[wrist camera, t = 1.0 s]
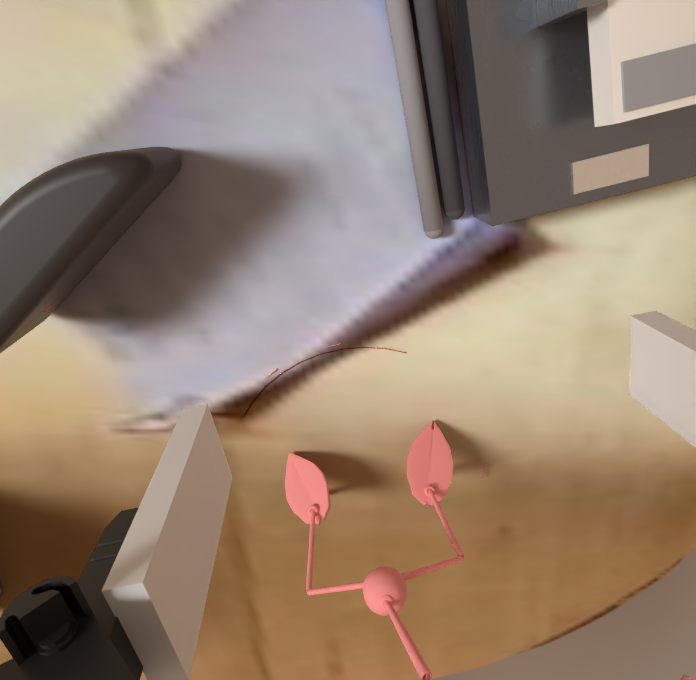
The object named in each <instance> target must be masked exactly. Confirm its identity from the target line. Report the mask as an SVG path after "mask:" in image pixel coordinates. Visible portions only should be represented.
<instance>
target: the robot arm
mask: <svg viewBox="0 0 696 680" xmlns="http://www.w3.org/2000/svg"><path fill="white" fill-rule="evenodd" d="M629 395H630V396H631V397H633V398H634V399H635V400H636V401H638V402H639V403H640V404H641V405H643V406H644V407H645V408H646V409H648V410H649V411H650V412H651V413H653V414H654V415H655V416H656V417H658V418H659V419H660V420H661V421H663V422H664V423H665V424H666V425H668V426H669V427H670V428H671V429H673V430H674V431H675V432H676V433H678V434H679V435H680V436H681V437H683V438H684V439H685V440H686V441H688V442H689V443H690V444H691V445H693V446H694V447H695V448H696V331H695V330H693V329H691V328H689V327H687V326H685V325H683V324H681V323H679V322H677V321H675V320H673V319H671V318H669V317H667V316H665V315H663V314H661V313H659V312H657V311H653V312H648V313H643V314H638V315H633V316H631V334H630V372H629ZM231 482H232V474H231V471H230V468H229V465H228V462H227V460H226V457H225V454H224V451H223V448H222V445H221V442H220V439H219V436H218V433H217V430H216V427H215V424H214V422H213V419H212V416H211V413H210V410H209V407H208V404H206V405H201V406H196V407H191V408H186V409H183V410H182V412H181V414H180V417H179V419H178V421H177V423H176V426H175V428H174V430H173V432H172V434H171V437H170V439H169V441H168V443H167V446H166V448H165V450H164V452H163V455H162V457H161V459H160V461H159V463H158V466H157V468H156V470H155V472H154V475H153V477H152V479H151V481H150V484H149V486H148V488H147V490H146V493H145V495H144V497H143V499H142V501H141V504H140V506H139V508H134V509H129V510H124V511H121V512H120V513H119V514H118V515H117V516H116V517H115V518H114V519H113V520H112V521H111V522H110V523H109V524H108V526H107V527H106V528H105V530H104V532H103V533H102V535H101V537H100V539H99V541H98V543H97V548H95V549H94V551H93V553H92V555H91V557H90V562H88V563H87V565H86V567H85V569H84V571H83V573H82V575H81V577H80V579H79V581H78V583H77V582H76V581H75V580H74V579H73V578H71V577H70V576H56V577H53V578H49V579H46V580H43V581H41V582H39V583H37V584H35V585H34V586H32V587H30V588H28V589H27V590H26V591H24V592H23V593H22V594H20V595H19V596H18V597H17V598H15V599H14V600H13V602H12V603H11V604H10V605H9V606H8V607H7V608H6V609H5V610H4V612H3V614H2V616H1V618H0V639H1V640H2V642H3V643H4V645H5V646H6V648H7V649H8V651H9V652H10V654H11V656H12V657H13V659H11V660H9V661H7V662H5V663H3V664H1V665H0V680H140V677H141V673H142V670H143V672H144V674H145V676H146V678H147V679H148V680H189V679H190V674H191V669H192V665H193V660H194V655H195V651H196V646H197V641H198V636H199V632H200V627H201V622H202V618H203V613H204V608H205V604H206V599H207V594H208V590H209V585H210V580H211V576H212V571H213V566H214V561H215V557H216V552H217V547H218V543H219V538H220V533H221V529H222V524H223V519H224V515H225V510H226V505H227V500H228V496H229V491H230V486H231Z"/></svg>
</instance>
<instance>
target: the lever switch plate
mask: <svg viewBox="0 0 696 680" xmlns="http://www.w3.org/2000/svg"><path fill="white" fill-rule="evenodd" d="M605 2H608V0H446V5H447V13H448V21H449V29H450V37H451V44H452V52H453V60H454V68H455V75H456V83H457V91H458V99H459V106H460V114H461V122H462V130H463V137H464V145H465V153H466V161H467V168H468V176H469V184H470V192H471V199H472V207H473V215H474V217H475V218H477V219H479V220H481V221H483V222H485V223H487V224H489V225H491V226H495V225H499V224H503V223H507V222H511V221H515V220H519V219H523V218H527V217H531V216H535V215H539V214H543V213H547V212H552V211H556V210H560V209H564V208H568V207H572V206H576V205H580V204H584V203H588V202H592V201H596V200H600V199H604V198H608V197H612V196H616V195H620V194H624V193H628V192H632V191H636V190H640V189H644V188H648V187H652V186H656V185H660V184H664V183H668V182H672V181H676V180H680V179H684V178H688V177H692V176H696V104H693V105H689V106H685V107H681V108H677V109H673V110H669V111H665V112H661V113H657V114H653V115H649V116H645V117H641V118H637V119H633V120H629V121H625V122H621V123H617V124H612V125H606V126H599V127H595V125H594V110H593V95H592V80H591V66H590V51H589V36H588V21H587V10H589V9H591V8H593V7H596V6H598V5H600V4H603V3H605Z"/></svg>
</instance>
